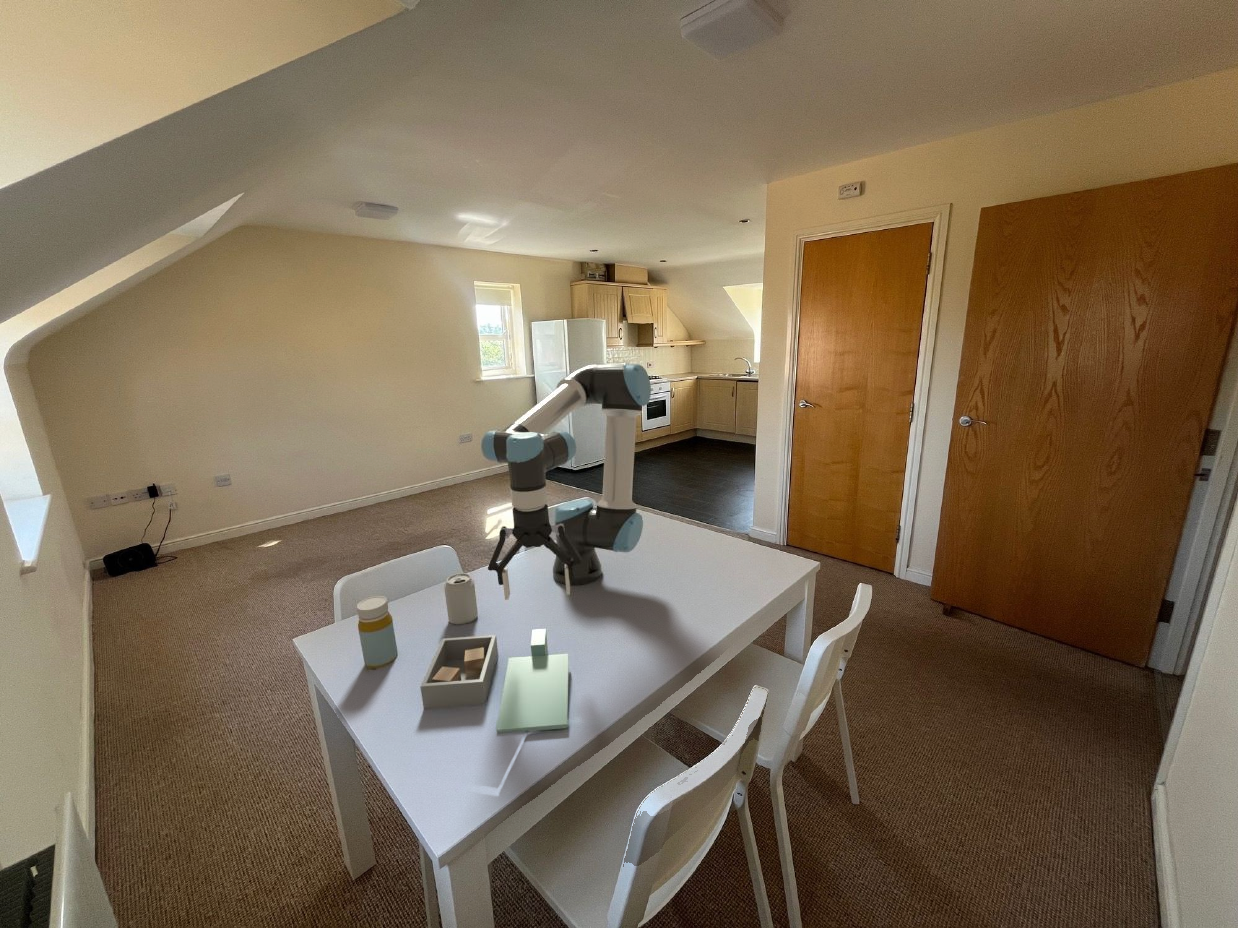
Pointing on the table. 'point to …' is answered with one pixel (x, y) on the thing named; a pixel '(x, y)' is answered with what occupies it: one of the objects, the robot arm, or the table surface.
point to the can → (460, 599)
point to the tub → (467, 688)
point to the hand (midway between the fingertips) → (538, 594)
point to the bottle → (376, 632)
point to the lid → (535, 690)
